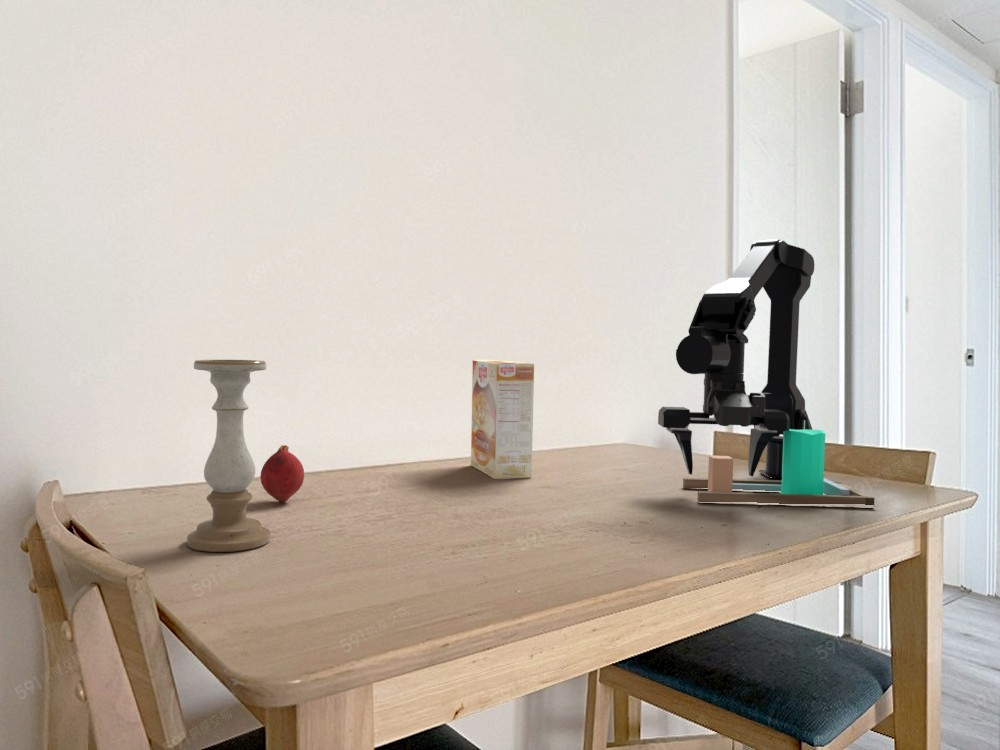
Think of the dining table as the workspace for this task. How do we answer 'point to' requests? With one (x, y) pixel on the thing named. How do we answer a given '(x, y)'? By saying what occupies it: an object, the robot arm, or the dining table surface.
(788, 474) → the candle
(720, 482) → the frame
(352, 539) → the dining table surface
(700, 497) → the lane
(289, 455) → the onion
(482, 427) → the coffeecake box
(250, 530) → the candle holder
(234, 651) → the dining table surface
